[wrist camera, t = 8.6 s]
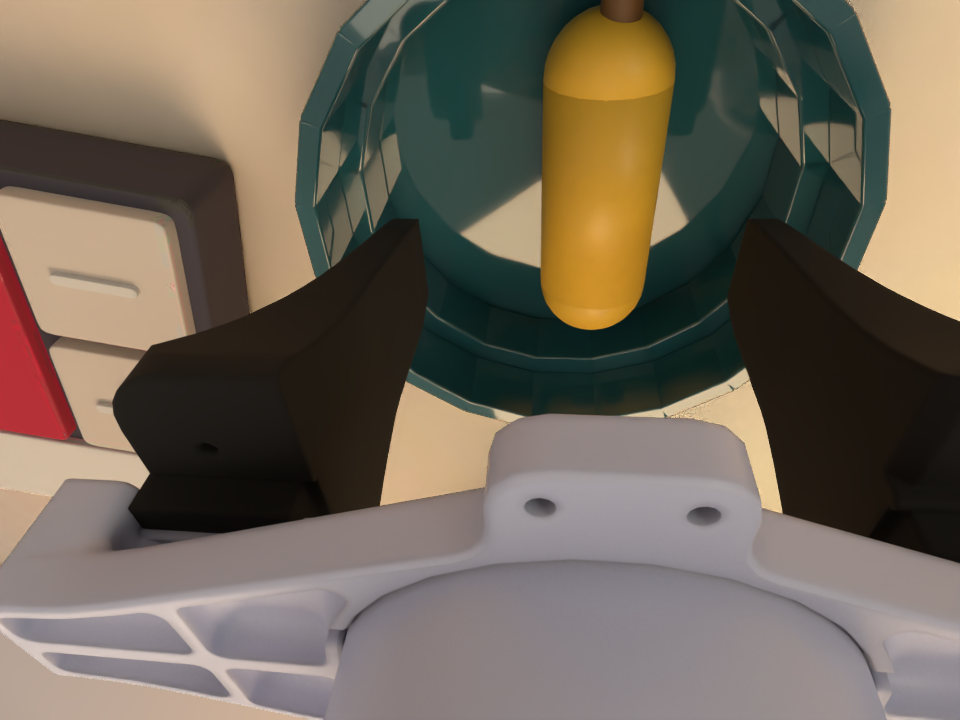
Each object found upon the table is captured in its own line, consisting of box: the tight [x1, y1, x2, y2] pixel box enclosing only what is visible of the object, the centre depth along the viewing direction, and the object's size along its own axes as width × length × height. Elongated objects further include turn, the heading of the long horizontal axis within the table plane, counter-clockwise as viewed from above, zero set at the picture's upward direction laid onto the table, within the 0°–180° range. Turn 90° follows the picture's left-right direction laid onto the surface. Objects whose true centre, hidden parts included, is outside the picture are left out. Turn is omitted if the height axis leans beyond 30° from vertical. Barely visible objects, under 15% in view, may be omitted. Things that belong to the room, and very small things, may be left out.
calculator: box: [0, 120, 249, 497], centre depth 22 cm, size 11×4×15 cm
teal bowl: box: [295, 0, 891, 423], centre depth 16 cm, size 13×13×4 cm
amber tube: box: [541, 0, 676, 330], centre depth 16 cm, size 10×3×3 cm, turn 3°
